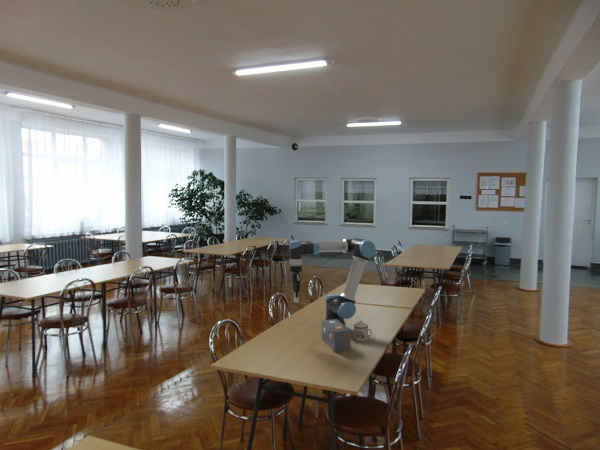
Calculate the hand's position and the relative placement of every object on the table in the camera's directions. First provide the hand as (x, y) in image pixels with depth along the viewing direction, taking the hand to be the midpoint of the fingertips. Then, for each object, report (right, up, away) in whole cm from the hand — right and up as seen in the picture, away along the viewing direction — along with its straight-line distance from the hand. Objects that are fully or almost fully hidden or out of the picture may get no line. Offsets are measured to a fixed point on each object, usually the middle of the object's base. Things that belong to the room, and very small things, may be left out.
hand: (296, 302), depth 264 cm
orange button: (+22, -20, -14) cm, 33 cm away
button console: (+24, -25, -7) cm, 35 cm away
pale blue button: (+19, -20, -3) cm, 28 cm away
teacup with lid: (+42, -24, +1) cm, 49 cm away
